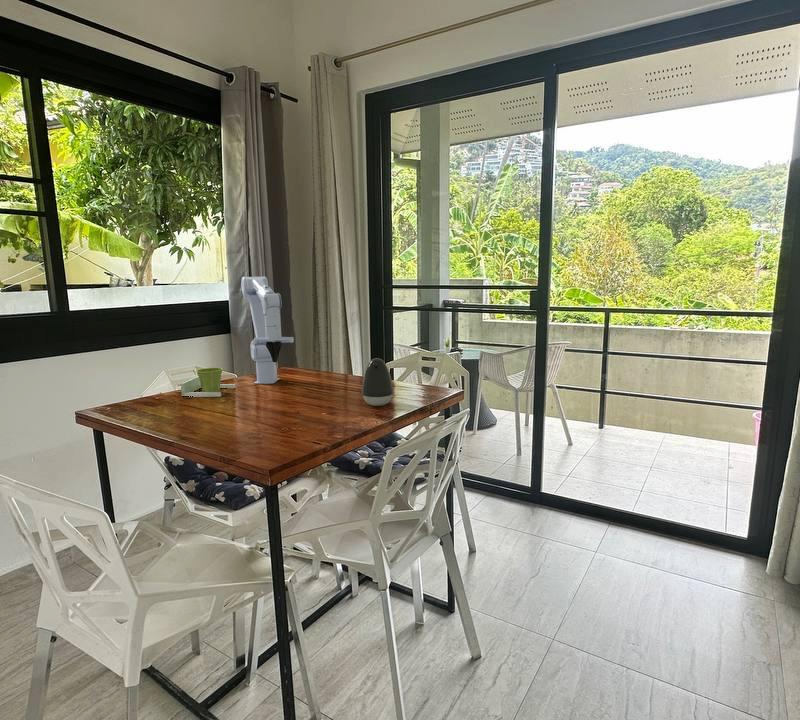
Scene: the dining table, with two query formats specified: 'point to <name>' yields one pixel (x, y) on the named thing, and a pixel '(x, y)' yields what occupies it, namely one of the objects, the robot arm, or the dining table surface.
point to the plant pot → (210, 379)
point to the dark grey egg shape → (377, 383)
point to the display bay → (195, 384)
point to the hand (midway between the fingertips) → (275, 361)
